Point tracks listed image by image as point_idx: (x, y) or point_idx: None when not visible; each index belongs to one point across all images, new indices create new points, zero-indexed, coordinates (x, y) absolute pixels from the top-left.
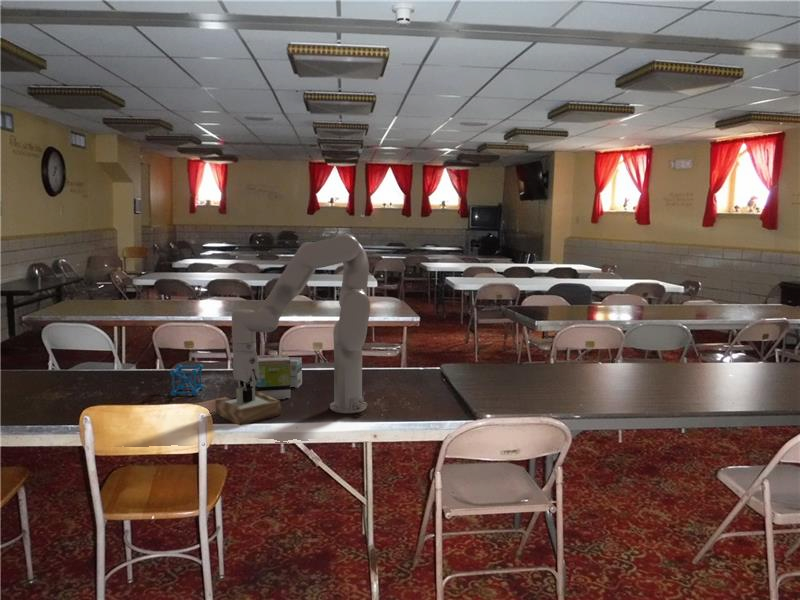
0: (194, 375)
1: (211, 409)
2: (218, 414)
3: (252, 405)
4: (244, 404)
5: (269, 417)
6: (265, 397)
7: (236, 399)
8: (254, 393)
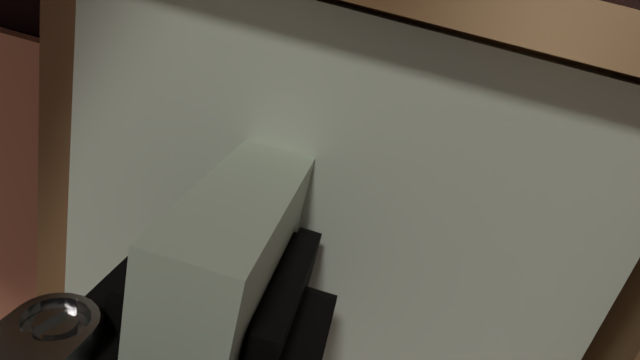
0: None
1: (2, 308)
2: None
3: (453, 343)
4: (332, 352)
5: None
6: (401, 15)
7: (90, 251)
8: (287, 212)
